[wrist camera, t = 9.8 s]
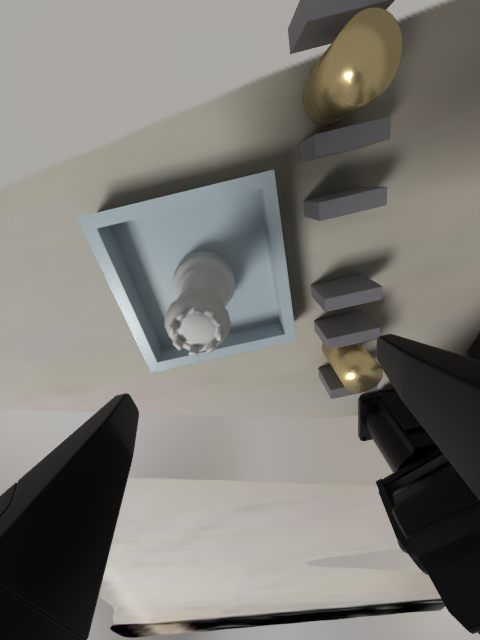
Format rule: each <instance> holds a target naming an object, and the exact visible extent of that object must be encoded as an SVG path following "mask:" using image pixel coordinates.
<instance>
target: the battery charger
mask: <svg viewBox="0 0 480 640" xmlns="http://www.w3.org/2000/svg"><path fill="white" fill-rule="evenodd" d="M468 357H469V358H472V359H476V360H479V361H480V335H479V337H478V339H477V340H476V342H475V344H474V346H473V347H472V349H471V351H470V353H469V355H468Z"/></svg>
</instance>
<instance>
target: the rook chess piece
mask: <svg viewBox="0 0 480 640" xmlns="http://www.w3.org/2000/svg"><path fill="white" fill-rule="evenodd" d="M234 289H235V277H234V273H233V269H232V268H231V267H230V265H229V264H228V262H227V261H226V260H225V259H223V258H222V257H220V256H219V255H217V254H215V253H211V252H205V251H200V252H196V253H192V254H189V255H188V256H187V257H185V258H184V259H183V260H181V261H180V263H179V264H178V266H177V268H176V270H175V272H174V276H173V290H174V293H175V295H176V298H177V300H176V301H174V302H173V303H171V305H170V307H169V308H168V310H167V312H166V314H165V325H164V326H165V328H166V331H167V333H168V336H169V337H170V338H171V339H172V340H173V343H172V344H173V345H174V346H175V347H176V348H177V349H178V350H179V351H180V350H181V349H182V348H185V349H187V350H189V355H191V356H199V352H201V351H207V353H208V354H210V353H211V352H213V351H214V350H216V349H217V346H218V345H220V344H221V343H223V341H224V340H225V338H226V337H227V336H228V334H229V330H230V325H231V321H230V317H229V314H228V311H227V310H226V308H225V307H226V306H227V305H228V303H229V302H230V300H231V299H232V297H233V294H234Z"/></svg>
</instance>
